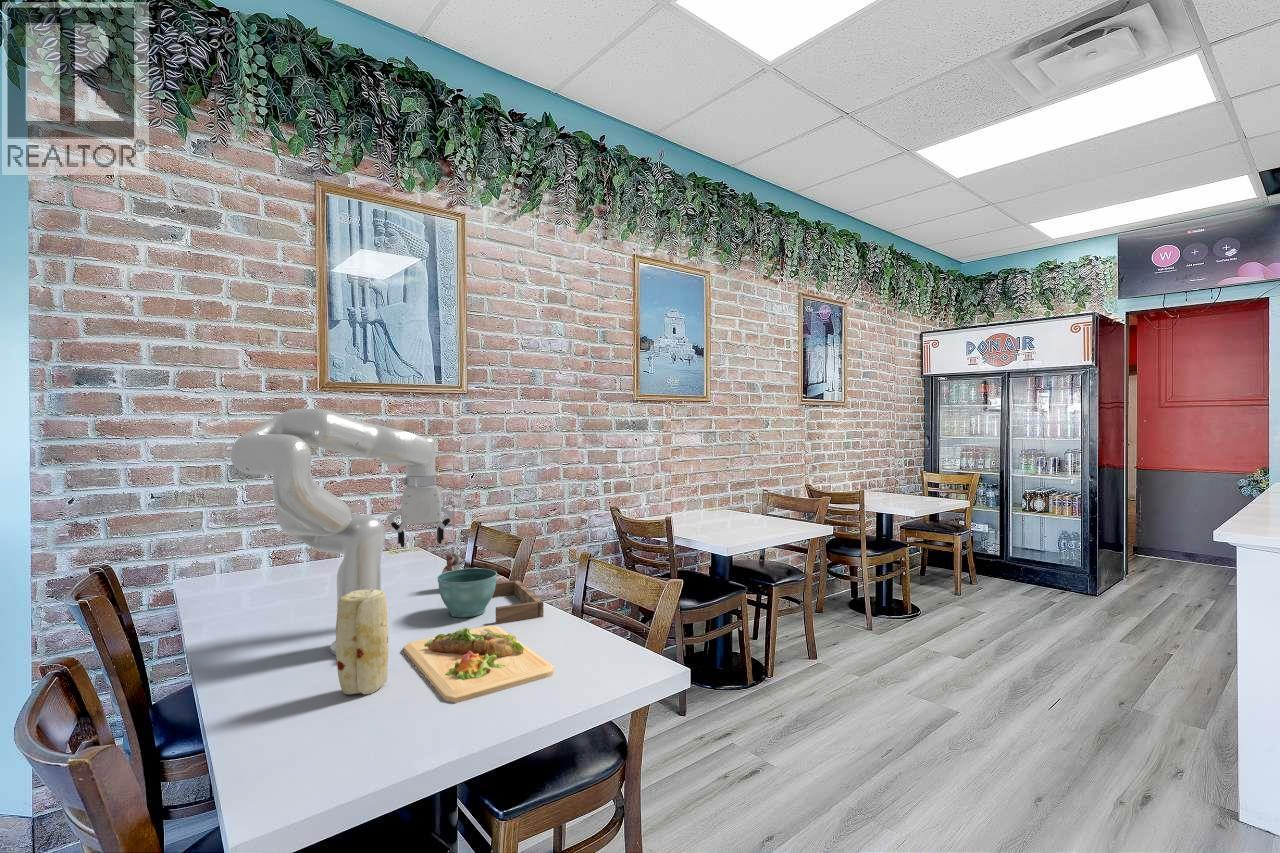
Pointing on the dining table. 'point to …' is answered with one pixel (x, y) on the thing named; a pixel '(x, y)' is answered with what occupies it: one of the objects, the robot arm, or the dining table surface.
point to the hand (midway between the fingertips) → (421, 544)
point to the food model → (362, 641)
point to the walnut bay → (526, 610)
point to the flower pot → (467, 590)
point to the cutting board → (476, 662)
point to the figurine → (452, 562)
